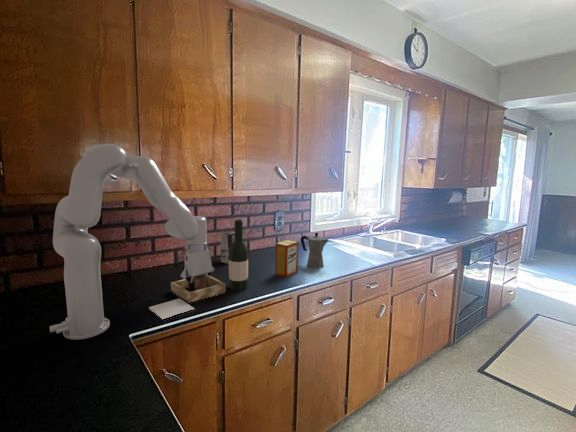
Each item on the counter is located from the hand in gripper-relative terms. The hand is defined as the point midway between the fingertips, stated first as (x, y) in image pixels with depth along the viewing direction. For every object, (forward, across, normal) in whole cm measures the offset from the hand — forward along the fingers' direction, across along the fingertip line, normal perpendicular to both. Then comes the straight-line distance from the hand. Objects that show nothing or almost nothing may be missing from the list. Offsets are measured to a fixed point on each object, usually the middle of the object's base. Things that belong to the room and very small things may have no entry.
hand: (198, 288), depth 133 cm
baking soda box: (+2, +44, -7) cm, 45 cm away
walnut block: (+2, 0, 0) cm, 2 cm away
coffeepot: (+2, +64, -7) cm, 64 cm away
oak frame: (+2, 0, 0) cm, 2 cm away
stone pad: (+2, -15, -8) cm, 17 cm away
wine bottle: (+2, +16, -6) cm, 17 cm away
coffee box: (+2, +34, +27) cm, 43 cm away
